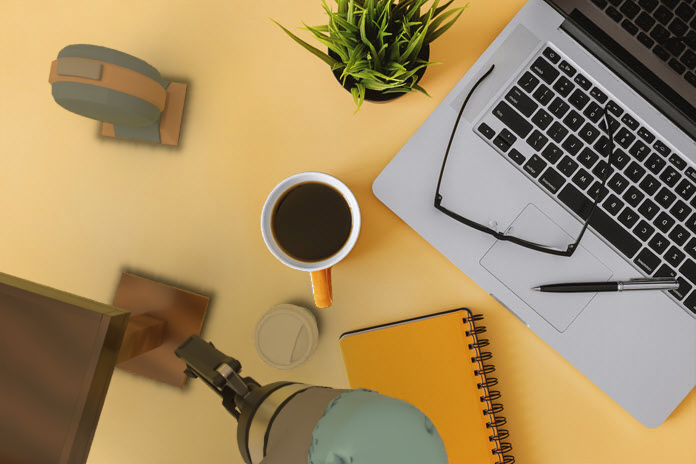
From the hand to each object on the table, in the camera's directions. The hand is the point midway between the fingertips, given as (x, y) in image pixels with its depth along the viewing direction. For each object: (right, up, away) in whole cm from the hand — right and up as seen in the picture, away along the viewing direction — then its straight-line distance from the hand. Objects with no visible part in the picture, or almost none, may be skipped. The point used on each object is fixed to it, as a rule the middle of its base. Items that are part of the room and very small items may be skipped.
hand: (234, 408), depth 56 cm
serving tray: (-18, +7, -10) cm, 22 cm away
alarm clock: (-19, +39, +21) cm, 48 cm away
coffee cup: (+6, +6, +18) cm, 20 cm away
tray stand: (-17, +5, +19) cm, 26 cm away
